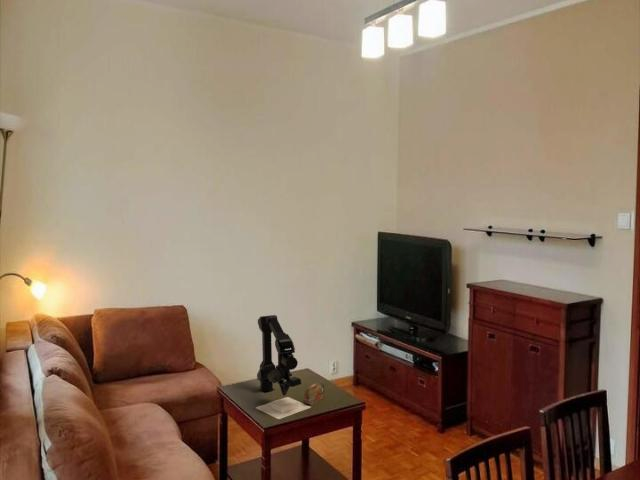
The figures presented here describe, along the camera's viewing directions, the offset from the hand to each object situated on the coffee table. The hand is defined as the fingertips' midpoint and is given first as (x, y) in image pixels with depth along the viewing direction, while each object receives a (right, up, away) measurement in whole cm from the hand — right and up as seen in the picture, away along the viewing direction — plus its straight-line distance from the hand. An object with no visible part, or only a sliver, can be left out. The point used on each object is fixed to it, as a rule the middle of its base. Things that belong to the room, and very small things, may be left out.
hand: (284, 395), depth 254 cm
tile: (-2, -4, +3) cm, 6 cm away
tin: (+14, -6, +9) cm, 18 cm away
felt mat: (-1, -7, +1) cm, 7 cm away
